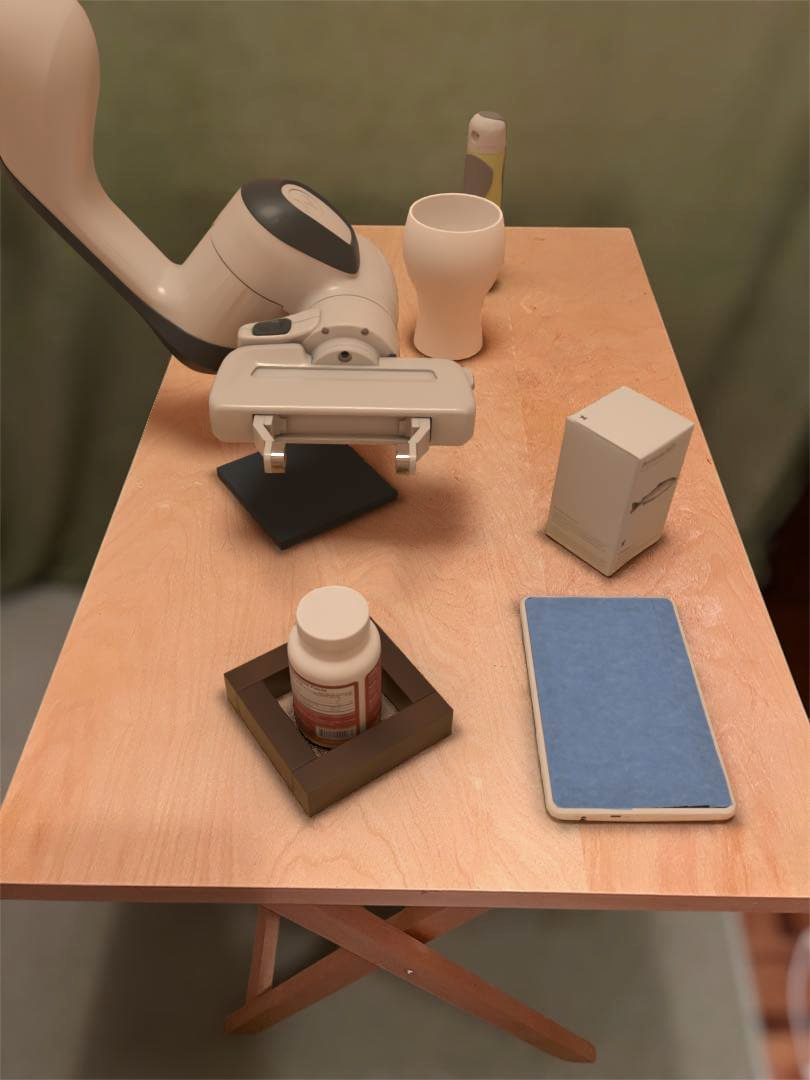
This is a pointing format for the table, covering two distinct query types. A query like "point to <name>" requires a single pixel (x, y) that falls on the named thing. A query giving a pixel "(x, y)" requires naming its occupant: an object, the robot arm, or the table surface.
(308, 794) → the holder
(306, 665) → the pill bottle
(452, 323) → the cup
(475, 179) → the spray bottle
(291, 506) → the coaster
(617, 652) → the tablet
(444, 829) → the table surface
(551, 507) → the white packaging box
